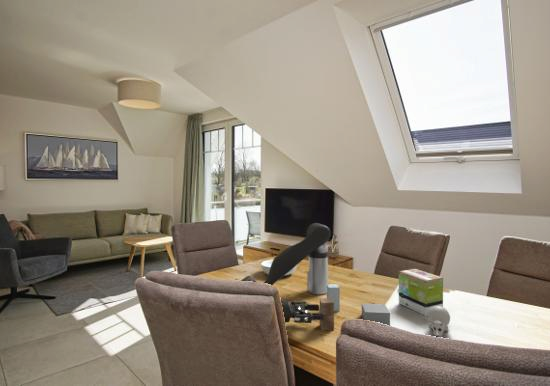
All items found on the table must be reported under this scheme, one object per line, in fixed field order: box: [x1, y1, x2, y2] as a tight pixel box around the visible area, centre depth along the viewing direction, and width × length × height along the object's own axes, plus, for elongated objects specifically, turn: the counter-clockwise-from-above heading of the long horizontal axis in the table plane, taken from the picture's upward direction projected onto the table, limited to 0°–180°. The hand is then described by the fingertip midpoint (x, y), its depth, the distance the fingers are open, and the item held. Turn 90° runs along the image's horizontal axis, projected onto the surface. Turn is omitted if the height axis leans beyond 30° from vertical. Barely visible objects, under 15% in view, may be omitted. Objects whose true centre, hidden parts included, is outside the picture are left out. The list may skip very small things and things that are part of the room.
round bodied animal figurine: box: [427, 306, 451, 338], centre depth 116 cm, size 7×12×8 cm, turn 148°
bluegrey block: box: [326, 283, 341, 312], centre depth 138 cm, size 4×4×10 cm
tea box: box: [398, 268, 444, 317], centre depth 138 cm, size 15×10×15 cm, turn 23°
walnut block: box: [319, 297, 335, 331], centre depth 121 cm, size 4×4×10 cm
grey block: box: [361, 302, 391, 326], centre depth 127 cm, size 9×9×5 cm
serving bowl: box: [260, 258, 298, 277], centre depth 191 cm, size 21×21×7 cm
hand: (320, 312), depth 120 cm, fingers open, 8 cm apart
